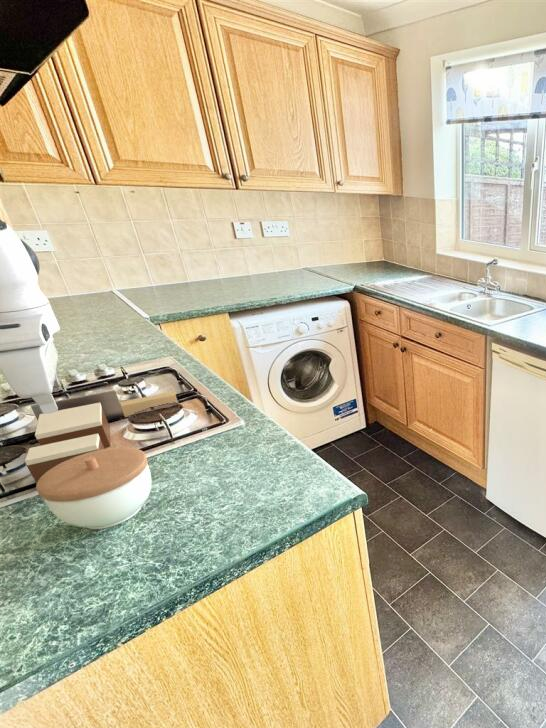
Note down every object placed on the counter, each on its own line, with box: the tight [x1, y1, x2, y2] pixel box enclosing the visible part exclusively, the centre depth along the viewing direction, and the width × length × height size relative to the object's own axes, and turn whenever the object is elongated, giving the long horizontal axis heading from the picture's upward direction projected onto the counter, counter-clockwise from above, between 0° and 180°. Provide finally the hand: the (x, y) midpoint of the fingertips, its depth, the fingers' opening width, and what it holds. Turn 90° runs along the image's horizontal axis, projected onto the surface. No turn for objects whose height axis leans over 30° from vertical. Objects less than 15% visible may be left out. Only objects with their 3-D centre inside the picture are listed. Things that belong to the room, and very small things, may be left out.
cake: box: [34, 403, 111, 449], centre depth 85 cm, size 9×10×6 cm
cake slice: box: [24, 434, 105, 485], centre depth 76 cm, size 9×5×6 cm, turn 129°
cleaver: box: [30, 389, 179, 421], centre depth 94 cm, size 23×2×6 cm, turn 131°
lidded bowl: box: [35, 446, 153, 530], centre depth 67 cm, size 13×13×11 cm
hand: (52, 400), depth 72 cm, fingers open, 8 cm apart
